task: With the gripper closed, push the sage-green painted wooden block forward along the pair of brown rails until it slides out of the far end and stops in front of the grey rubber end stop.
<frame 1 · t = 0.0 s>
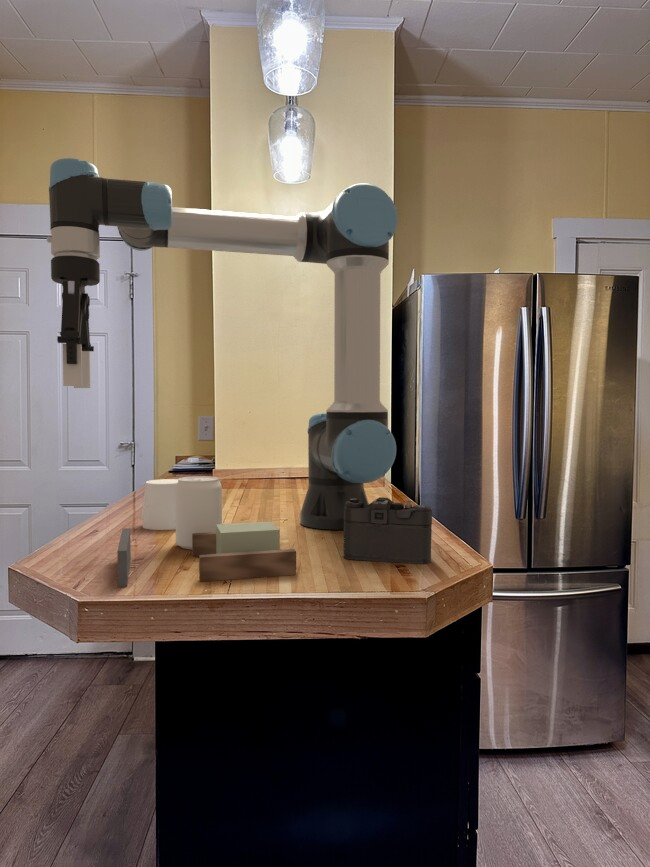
hand: (77, 387, 105), 28 cm above the worktop, fingers open, 13 cm apart
pair of brown rails: (241, 563, 99), on the worktop
camera: (388, 556, 104), on the worktop
beverage can: (199, 546, 111), on the worktop
mug: (172, 527, 129), on the worktop
end stop: (124, 571, 94), on the worktop
block: (247, 564, 99), on the worktop
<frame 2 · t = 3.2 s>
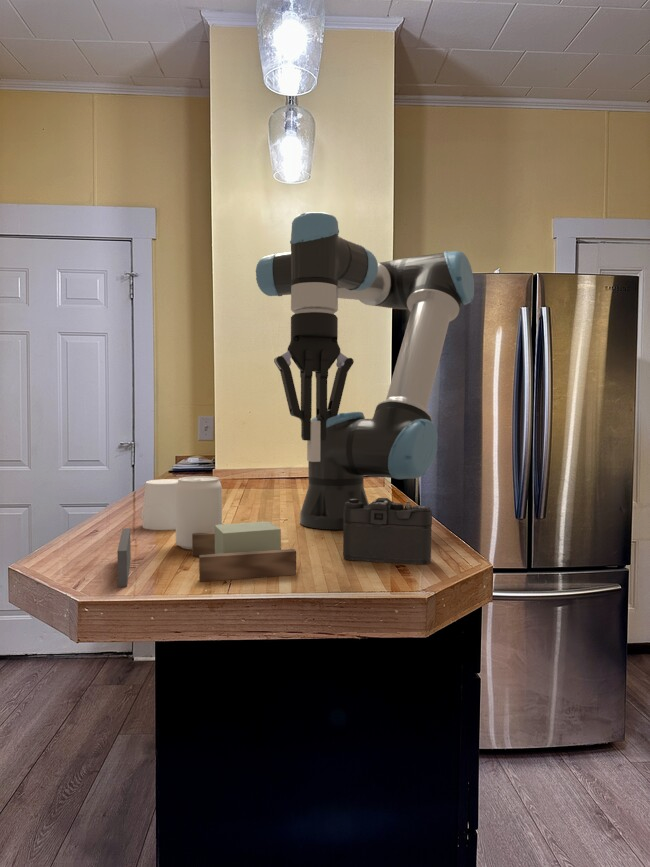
hand: (313, 460, 101), 16 cm above the worktop, fingers closed
nothing on the worktop moved.
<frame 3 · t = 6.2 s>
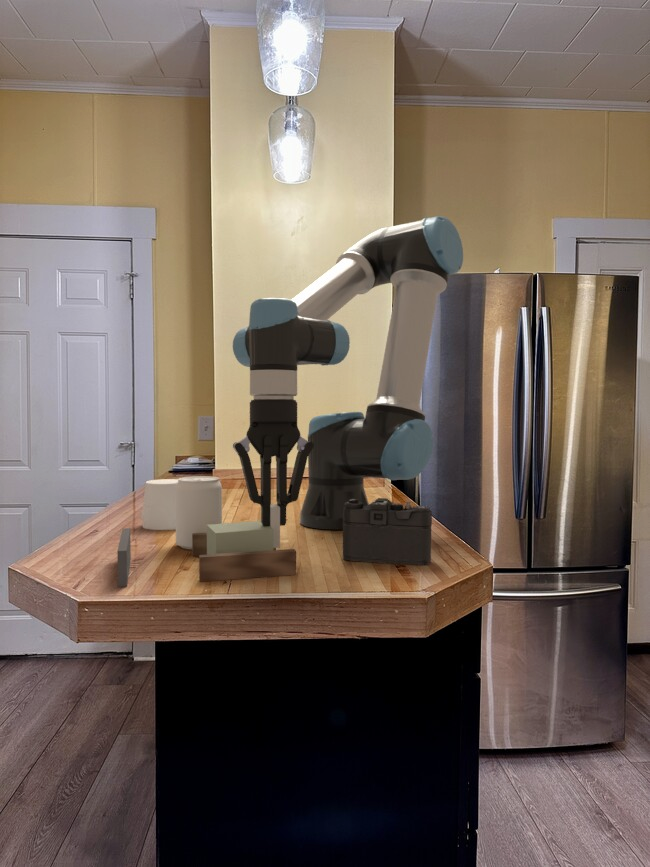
hand: (273, 545, 100), 3 cm above the worktop, fingers closed
block: (239, 564, 99), on the worktop
everything else where it was.
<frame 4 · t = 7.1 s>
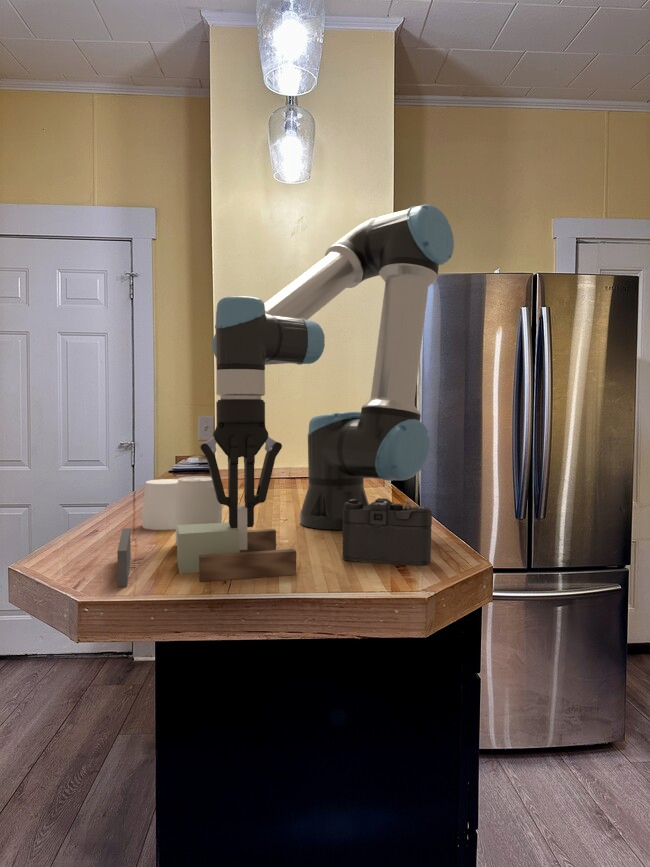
hand: (241, 547, 98), 3 cm above the worktop, fingers closed
block: (207, 565, 98), on the worktop, touching gripper
everything else where it was.
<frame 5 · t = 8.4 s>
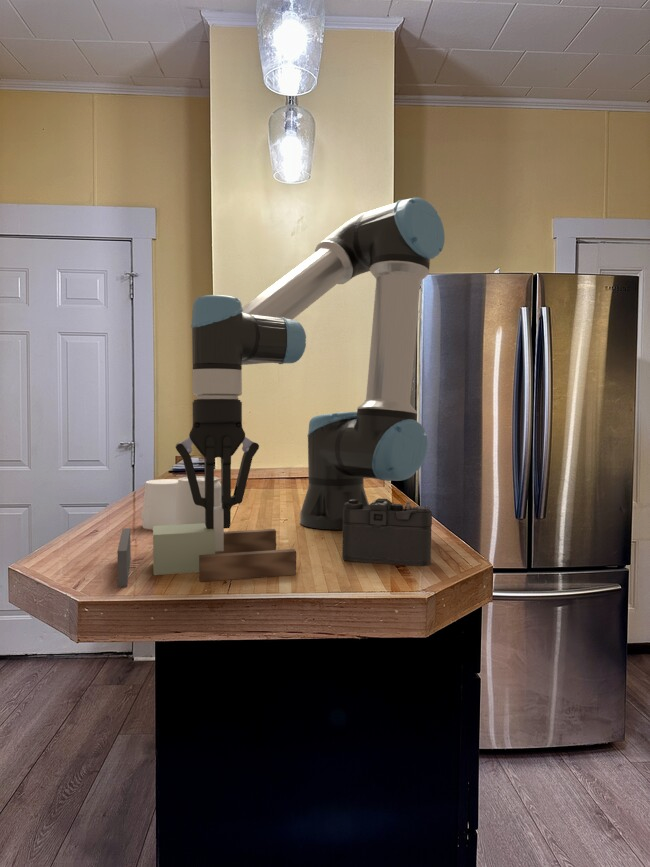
hand: (217, 549, 97), 3 cm above the worktop, fingers closed
block: (183, 567, 97), on the worktop, touching gripper
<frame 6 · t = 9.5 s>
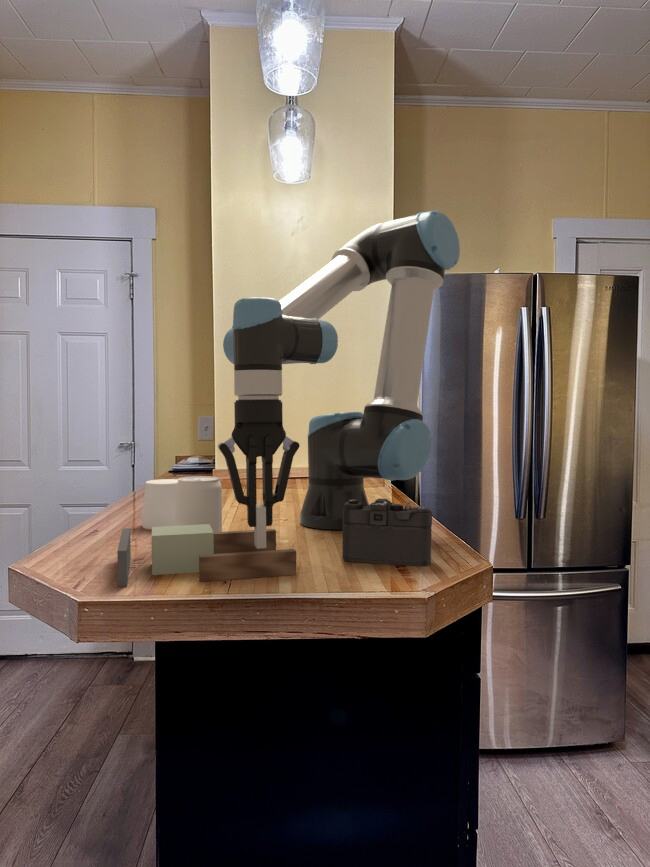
hand: (260, 546, 99), 3 cm above the worktop, fingers closed
block: (182, 568, 97), on the worktop
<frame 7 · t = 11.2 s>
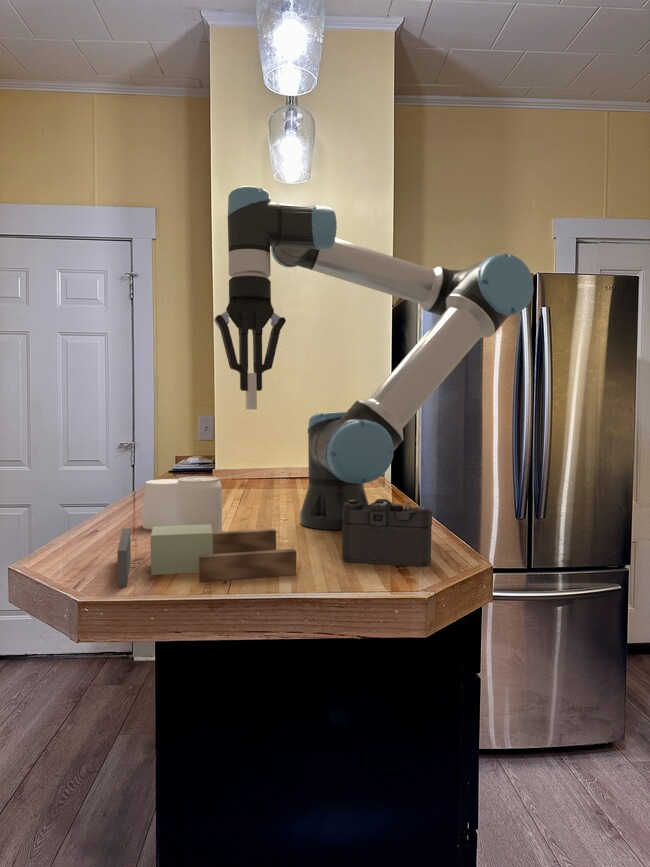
hand: (251, 409, 114), 24 cm above the worktop, fingers closed
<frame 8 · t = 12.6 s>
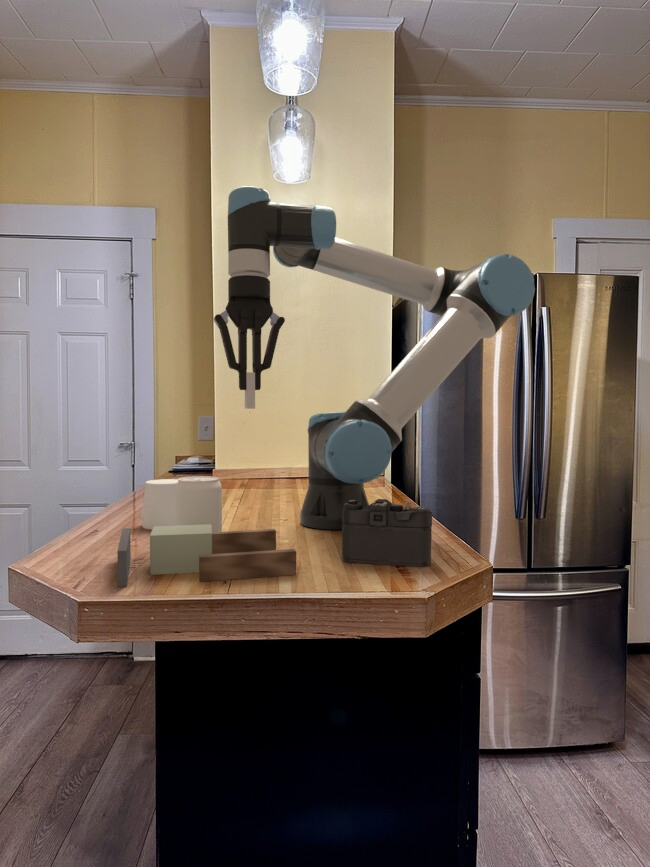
hand: (249, 408, 114), 24 cm above the worktop, fingers closed
at the end: block inside the target area (2.3 cm from its centre), on the worktop; block moved 10.0 cm from its start; block tilted 0° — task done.
